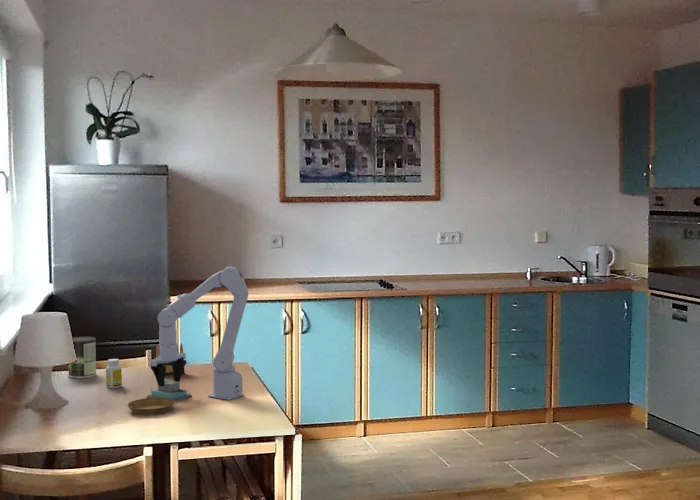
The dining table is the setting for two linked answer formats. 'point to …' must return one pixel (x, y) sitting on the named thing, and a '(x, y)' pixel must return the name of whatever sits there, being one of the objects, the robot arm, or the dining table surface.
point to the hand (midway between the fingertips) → (169, 383)
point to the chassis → (169, 395)
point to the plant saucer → (151, 405)
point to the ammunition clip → (168, 365)
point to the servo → (170, 386)
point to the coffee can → (83, 358)
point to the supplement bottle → (113, 374)
